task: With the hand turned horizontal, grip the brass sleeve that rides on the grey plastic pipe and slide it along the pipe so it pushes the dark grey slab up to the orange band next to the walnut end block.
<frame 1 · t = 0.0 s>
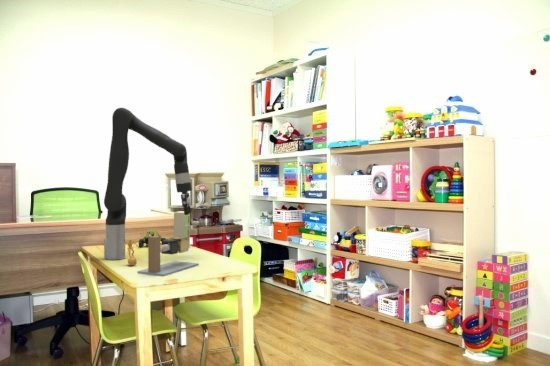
hand: (187, 213, 235), 22 cm above the table, tool pointing down, fingers open, 8 cm apart
dark grey slab: (169, 246, 208), point 10 cm above the table, slide at 0.0 cm
figurine: (131, 265, 216), on the table
sleeve: (178, 244, 214), point 10 cm above the table, slide at 0.0 cm
pipe rig: (170, 268, 209), on the table
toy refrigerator: (182, 248, 264), on the table
motor vehicle: (152, 246, 274), on the table
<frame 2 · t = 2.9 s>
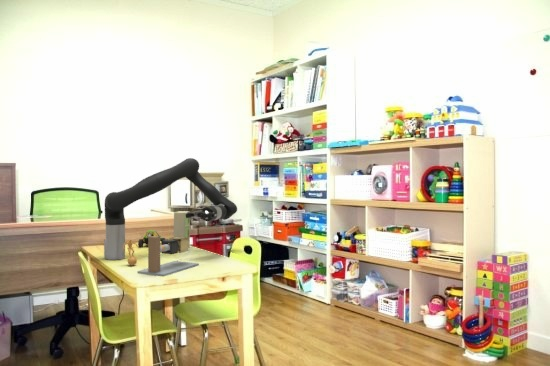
hand: (193, 216, 224), 22 cm above the table, tool horizontal, fingers open, 8 cm apart
nothing on the table moved.
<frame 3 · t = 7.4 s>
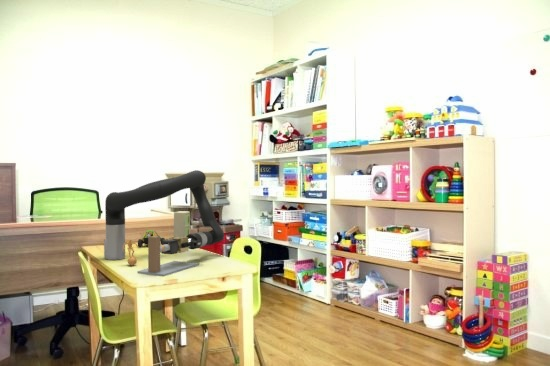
hand: (175, 245, 212), 10 cm above the table, tool horizontal, fingers closed on sleeve, 6 cm apart
sleeve: (178, 244, 214), point 10 cm above the table, slide at 0.0 cm, touching gripper
everything else where it was.
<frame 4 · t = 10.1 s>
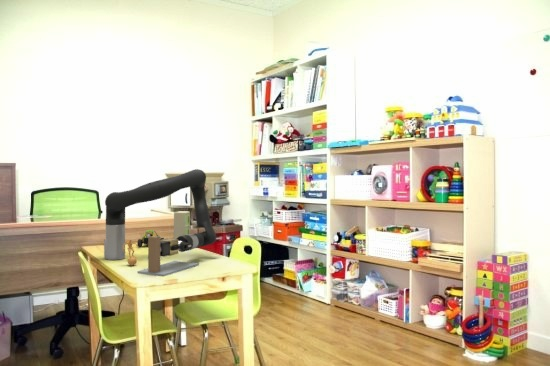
hand: (165, 247, 205), 10 cm above the table, tool horizontal, fingers closed on sleeve, 6 cm apart
dark grey slab: (161, 248, 202), point 10 cm above the table, slide at 5.7 cm
sleeve: (168, 247, 207), point 10 cm above the table, slide at 7.7 cm, touching gripper
everything else where it was.
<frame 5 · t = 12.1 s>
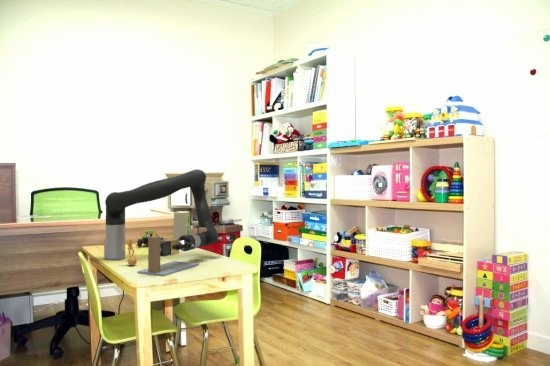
hand: (168, 247, 207), 10 cm above the table, tool horizontal, fingers open, 8 cm apart
sleeve: (169, 246, 208), point 10 cm above the table, slide at 7.0 cm
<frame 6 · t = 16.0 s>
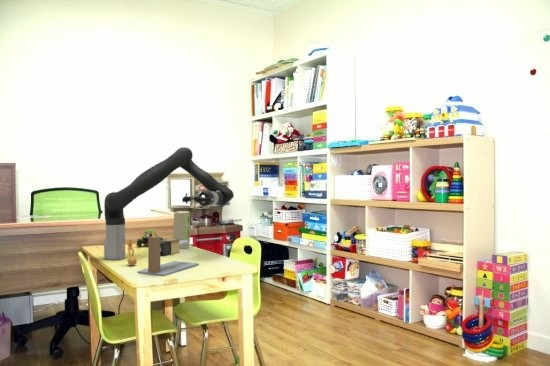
hand: (190, 200, 225), 30 cm above the table, tool horizontal, fingers open, 8 cm apart
at the end: dark grey slab slide at 5.7 cm; the gripper is holding nothing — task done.
